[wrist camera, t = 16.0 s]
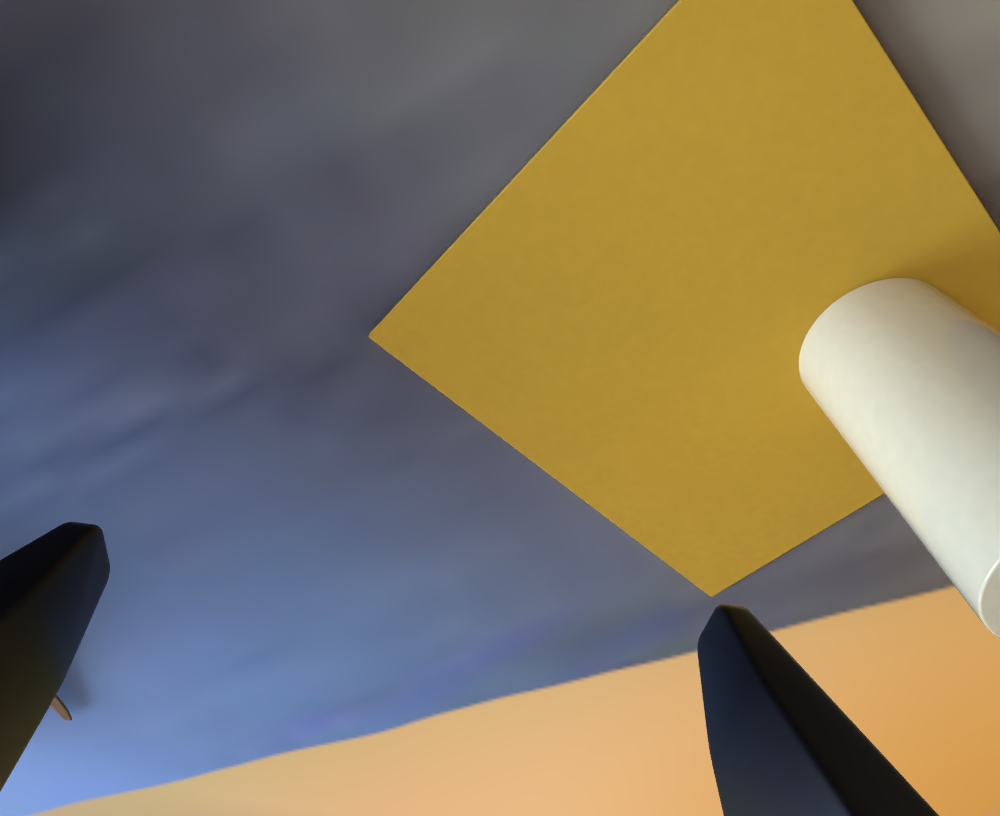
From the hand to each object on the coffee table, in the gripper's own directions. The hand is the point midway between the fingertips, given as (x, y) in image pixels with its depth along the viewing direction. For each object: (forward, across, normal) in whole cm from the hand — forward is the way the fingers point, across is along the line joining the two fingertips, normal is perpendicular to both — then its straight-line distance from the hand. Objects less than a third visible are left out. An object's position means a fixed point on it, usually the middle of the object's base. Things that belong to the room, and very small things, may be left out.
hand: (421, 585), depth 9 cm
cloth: (+13, -10, +2) cm, 16 cm away
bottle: (+13, -14, 0) cm, 19 cm away
